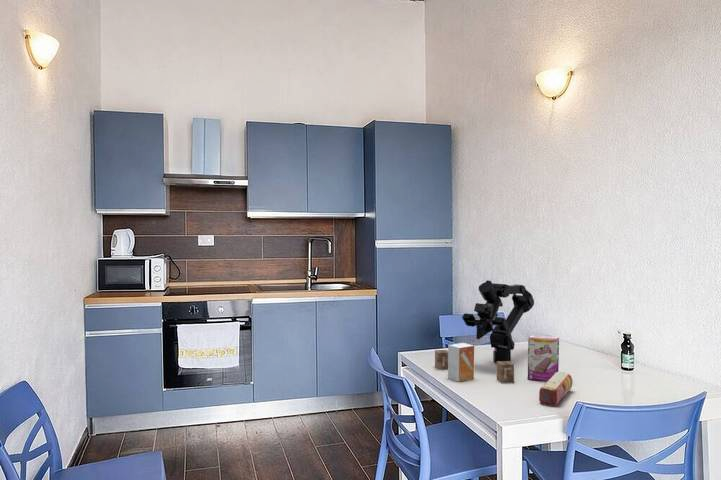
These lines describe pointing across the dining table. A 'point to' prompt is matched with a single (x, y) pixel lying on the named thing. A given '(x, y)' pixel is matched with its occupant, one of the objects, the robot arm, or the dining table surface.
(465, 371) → the small box
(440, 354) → the walnut block one
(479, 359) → the dining table surface
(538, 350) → the candy bar box
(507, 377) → the walnut block seven
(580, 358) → the dining table surface
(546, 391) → the snack package
